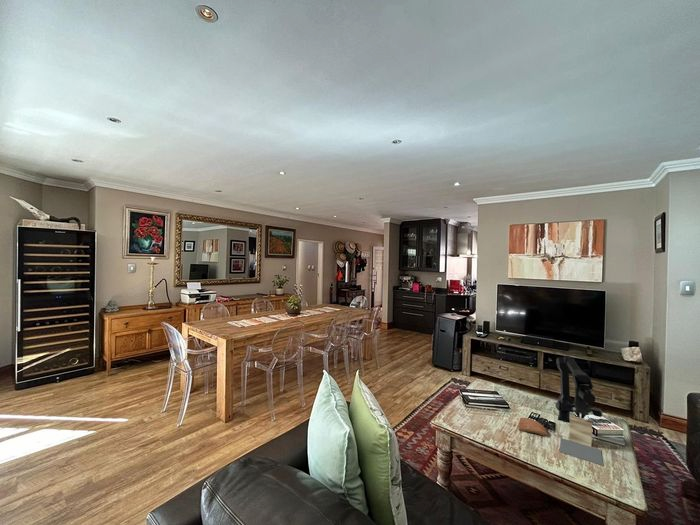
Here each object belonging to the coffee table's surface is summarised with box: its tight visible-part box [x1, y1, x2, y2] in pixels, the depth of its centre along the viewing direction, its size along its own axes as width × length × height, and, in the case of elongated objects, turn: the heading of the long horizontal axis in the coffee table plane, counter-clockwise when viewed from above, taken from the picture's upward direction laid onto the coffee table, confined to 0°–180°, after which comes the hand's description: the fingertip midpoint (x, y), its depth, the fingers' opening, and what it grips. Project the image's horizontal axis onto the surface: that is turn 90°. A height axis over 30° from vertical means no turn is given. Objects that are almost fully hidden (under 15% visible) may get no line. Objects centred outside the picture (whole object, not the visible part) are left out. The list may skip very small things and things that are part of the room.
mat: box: [559, 437, 604, 466], centre depth 165 cm, size 16×18×1 cm
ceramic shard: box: [517, 417, 548, 438], centre depth 188 cm, size 15×6×15 cm
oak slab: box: [568, 414, 593, 447], centre depth 174 cm, size 4×10×13 cm, turn 54°
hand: (580, 422), depth 177 cm, fingers closed
